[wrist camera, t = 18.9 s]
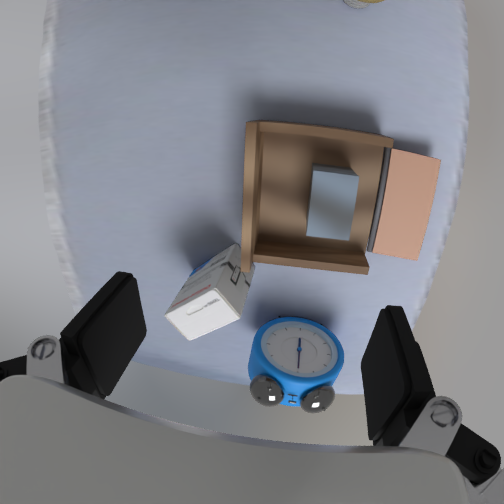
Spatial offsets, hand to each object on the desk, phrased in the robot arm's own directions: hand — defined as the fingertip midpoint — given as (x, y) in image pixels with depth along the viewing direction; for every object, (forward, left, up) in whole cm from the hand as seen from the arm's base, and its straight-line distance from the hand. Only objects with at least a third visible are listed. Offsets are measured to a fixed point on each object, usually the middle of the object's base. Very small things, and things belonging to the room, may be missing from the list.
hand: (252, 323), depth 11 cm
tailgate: (+2, +12, -26) cm, 29 cm away
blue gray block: (+2, +5, -26) cm, 27 cm away
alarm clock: (+25, +4, -28) cm, 38 cm away
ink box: (+15, -8, -29) cm, 33 cm away
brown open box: (+2, +4, -28) cm, 29 cm away
